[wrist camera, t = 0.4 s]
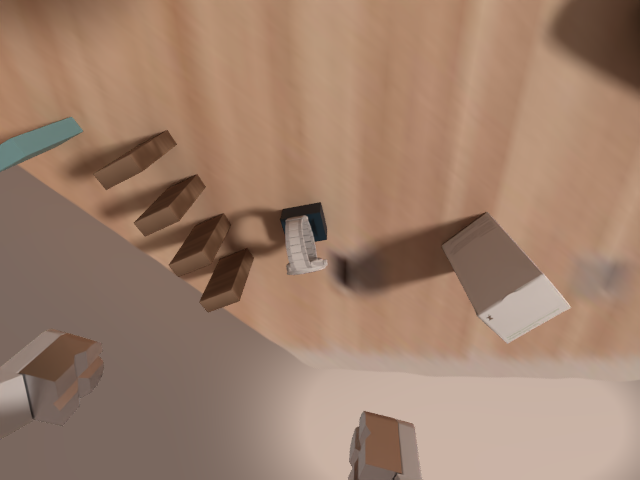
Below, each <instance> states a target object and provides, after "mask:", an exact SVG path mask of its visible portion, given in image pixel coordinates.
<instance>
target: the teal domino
mask: <svg viewBox="0 0 640 480" xmlns="http://www.w3.org/2000/svg"><path fill="white" fill-rule="evenodd" d="M81 132H83V130H82V129H81V128H80V126H79V125H78V124H77V123H76V121H75V120H74V119H73V118H72V117H69V118H67V119H64V120H61V121H58V122H55V123H53V124H50V125H47V126H44V127H41V128H39V129H36V130H33V131H30V132H27V133H24V134H22V135H19V136H16V137H13V138H11V139H9V140H7V141H6V142H4V143H2V144H1V145H0V172H1V171H3V170H6V169H8V168H10V167H12V166H15V165H17V164H19V163H21V162H24V161H26V160H28V159H30V158H33V157H35V156H37V155H39V154H42V153H44V152H46V151H48V150H51V149H53V148H55V147H57V146H59V145H60V144H62V143H64V142H66V141H67V140H69V139H71V138H72V137H74V136H76V135H78V134H79V133H81Z"/></svg>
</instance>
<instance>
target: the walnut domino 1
mask: <svg viewBox="0 0 640 480" xmlns="http://www.w3.org/2000/svg"><path fill="white" fill-rule="evenodd" d="M176 145H177V144H176V142H175V141H174V139H173V138H172V136H171V135H170V133H169V132H168V130H167V131H165V132H163V133H161V134H159V135H158V136H156V137H154V138H152V139H150V140H148V141H146V142H144V143H143V144H141V145H139V146H137V147H135V148H134V149H132V150H131V151H129V152H127V153H126V154H124V155H123V156H121V157H120V158H118V159H116V160H115V161H113V162H112V163H110V164H108V165H107V166H105V167H104V168H102V169H100V170H99V171H97V172H96V173H94V174H93V175H94V176H95V177H96V178H97V180H98V181H99V182H100V183H101V184H102V186H103V187H104V188H105V189H106V190H107V189H109V188H111V187H113V186H115V185H117V184H119V183H121V182H123V181H125V180H127V179H129V178H131V177H133V176H135V175H136V174H138V173H140V172H142V171H143V170H145V169H146V168H147V167H149V166H150V165H151V164H152V163H154V162H155V161H156V160H158V159H159V158H160V157H161V156H163V155H164V154H165V153H167V152H168V151H169V150H170V149H172V148H173V147H174V146H176Z"/></svg>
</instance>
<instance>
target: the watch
mask: <svg viewBox="0 0 640 480" xmlns="http://www.w3.org/2000/svg"><path fill="white" fill-rule="evenodd" d="M280 221H281V224H282V227H283V230H284V234H285V240H286V249H287V255H288V259H289V263H288V264H287V266H286V267H287V275H298V274H305V273H310V272H315V271H319V270H322V269H324V268H325V266H327V265H328V264H327V260H323V259H322V258H317V253H316V250H315V249H316V247H315V242H316V241H322V240H327V226H326V222H325V218H324V213H323V209H322V205H321V202H319V203H314V204H309V205H303V206H298V207H292V208H287V209H283V211H282V215H281V218H280ZM298 244H299V245H298ZM288 248H290V249H288ZM307 248H308V249H307Z"/></svg>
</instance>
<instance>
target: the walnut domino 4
mask: <svg viewBox="0 0 640 480" xmlns="http://www.w3.org/2000/svg"><path fill="white" fill-rule="evenodd" d="M253 259H254V258H253V256H252V255H251V253H250V252H249V250H248V249H247V248H246V249H244V250H242V251H239V252H237V253H234V254H232V255H229V256H227V257H224V258H222V259H220V260H219V262H218V264H217V266H216V268H215V270H214V272H213V274H212V277H211V279H210V281H209V283H208V285H207V287H206V289H205V291H204V293H203V295H202V297H201V300H200V304H201V305H202V306H203V307H204V308H205V310H206V311H207V312H211V311H214V310H216V309H219V308H222V307H224V306H227V305H230V304H233V303H235V302H238V301H240V298H241V295H242V292H243V289H244V286H245V283H246V280H247V277H248V274H249V271H250V268H251V265H252V262H253Z"/></svg>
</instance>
